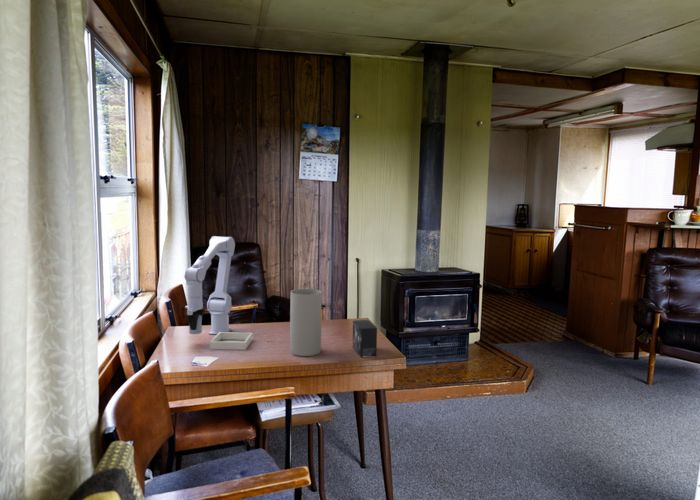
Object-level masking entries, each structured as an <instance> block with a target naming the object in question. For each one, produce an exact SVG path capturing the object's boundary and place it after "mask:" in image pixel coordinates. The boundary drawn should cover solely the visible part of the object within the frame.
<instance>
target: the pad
mask: <svg viewBox="0 0 700 500" xmlns="http://www.w3.org/2000/svg"><path fill="white" fill-rule="evenodd" d="M224 342H243V340H225V341H224Z"/></svg>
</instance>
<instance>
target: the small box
mask: <svg viewBox="0 0 700 500" xmlns="http://www.w3.org/2000/svg"><path fill="white" fill-rule="evenodd" d="M377 335H378V328H377V327H376V325H374V323H372V322H371V321H370V320H369V319H359V320H352V348H354V349H355V350H356V351H355V350H354V349H353V350H354V351H355V352H356V353H357V355H360V356H361V357H360V356H359V357H360V358H364V357H363V356H375V357H378V356H377V355H378V354H377V352H378V351H377V350H378V349H377V348H378V345H377V344H378V341H377V340H378V338H377V337H378V336H377Z"/></svg>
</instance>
